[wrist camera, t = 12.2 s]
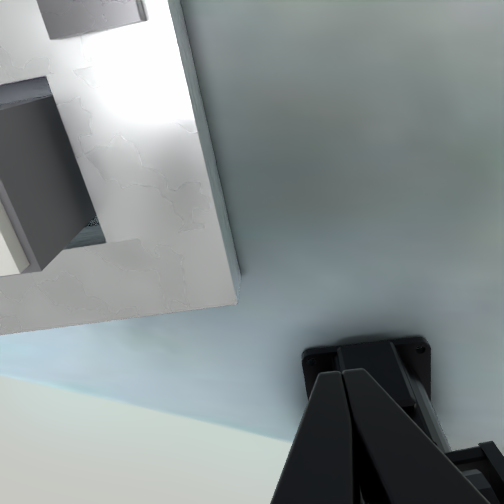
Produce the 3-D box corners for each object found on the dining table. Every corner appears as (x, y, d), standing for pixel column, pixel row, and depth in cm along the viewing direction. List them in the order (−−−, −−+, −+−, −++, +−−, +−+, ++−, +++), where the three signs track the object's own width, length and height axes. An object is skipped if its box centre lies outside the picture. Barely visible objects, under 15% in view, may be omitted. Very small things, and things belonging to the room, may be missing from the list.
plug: (104, 206, 20) (32, 280, 14) (23, 219, 20) (-80, 295, 14) (64, 92, 17) (-41, 121, 12) (-25, 109, 18) (-171, 145, 12)
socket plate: (241, 276, 21) (236, 314, 18) (-4, 310, 22) (-44, 350, 20) (164, -72, 15) (138, -99, 12) (-165, 6, 16) (-258, 0, 13)
